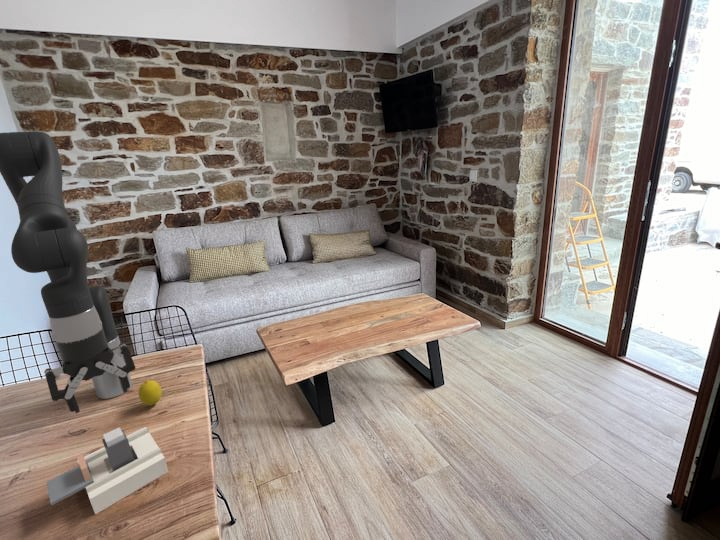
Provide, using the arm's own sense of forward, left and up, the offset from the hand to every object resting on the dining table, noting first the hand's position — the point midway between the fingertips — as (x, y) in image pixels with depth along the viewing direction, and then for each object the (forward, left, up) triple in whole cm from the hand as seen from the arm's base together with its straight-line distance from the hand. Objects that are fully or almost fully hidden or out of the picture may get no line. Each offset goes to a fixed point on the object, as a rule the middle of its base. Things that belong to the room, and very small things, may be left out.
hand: (101, 400), depth 77 cm
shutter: (0, -9, -15) cm, 18 cm away
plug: (0, 0, -19) cm, 19 cm away
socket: (0, 0, -20) cm, 20 cm away
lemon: (-21, +12, -20) cm, 31 cm away
